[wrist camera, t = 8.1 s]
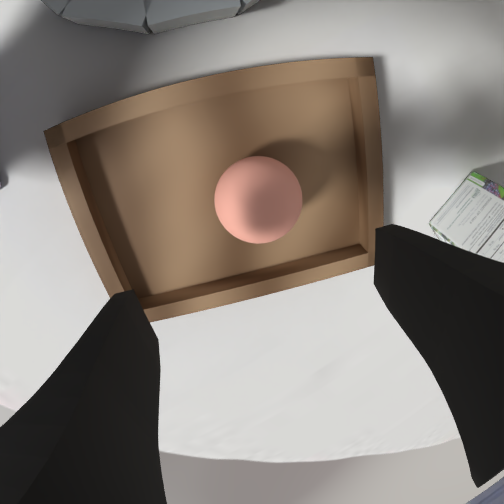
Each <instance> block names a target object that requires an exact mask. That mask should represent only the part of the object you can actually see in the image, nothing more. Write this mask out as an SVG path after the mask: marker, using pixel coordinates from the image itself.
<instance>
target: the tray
mask: <svg viewBox="0 0 504 504" xmlns="http://www.w3.org/2000/svg"><path fill="white" fill-rule="evenodd" d="M44 135H45V138H46V141H47V145H48V148H49V151H50V154H51V157H52V160H53V163H54V166H55V169H56V172H57V175H58V178H59V181H60V184H61V186H62V189H63V192H64V195H65V197H66V200H67V203H68V205H69V208H70V210H71V213H72V215H73V218H74V220H75V223H76V225H77V227H78V230H79V232H80V235H81V237H82V239H83V242H84V244H85V246H86V248H87V251H88V253H89V255H90V257H91V259H92V262H93V264H94V266H95V268H96V270H97V272H98V274H99V276H100V278H101V280H102V283H103V285H104V287H105V289H106V291H107V293H108V295H109V296H110V298H111V297H112V296H113V295H114V294H116V293H120V292H124V291H128V290H132V289H134V291H135V294H136V296H137V298H138V300H139V302H140V304H141V306H142V308H143V310H144V312H145V314H146V316H147V318H148V320H149V322H154V321H158V320H163V319H168V318H172V317H176V316H181V315H185V314H190V313H194V312H198V311H203V310H207V309H211V308H215V307H219V306H224V305H228V304H232V303H236V302H240V301H244V300H248V299H252V298H256V297H260V296H264V295H268V294H272V293H275V292H279V291H283V290H287V289H291V288H294V287H298V286H302V285H306V284H309V283H313V282H317V281H320V280H324V279H328V278H331V277H335V276H338V275H342V274H345V273H349V272H352V271H356V270H359V269H363V268H366V267H370V266H373V265H375V228H379V227H383V161H382V142H381V127H380V115H379V104H378V94H377V85H376V77H375V70H374V62H373V57H356V58H334V59H319V60H307V61H297V62H288V63H280V64H273V65H266V66H259V67H253V68H247V69H241V70H235V71H230V72H225V73H220V74H215V75H210V76H206V77H201V78H197V79H193V80H189V81H185V82H181V83H177V84H173V85H169V86H165V87H162V88H158V89H155V90H151V91H148V92H145V93H142V94H138V95H135V96H132V97H129V98H126V99H123V100H120V101H117V102H114V103H111V104H108V105H106V106H103V107H100V108H98V109H95V110H92V111H90V112H87V113H85V114H82V115H80V116H77V117H75V118H72V119H70V120H67V121H65V122H63V123H60V124H58V125H56V126H54V127H51V128H49V129H47V130H45V131H44ZM252 156H265V157H269V158H273V159H275V160H278V161H280V162H281V163H283V164H284V165H286V166H287V167H288V168H289V169H290V170H291V171H292V172H293V173H294V175H295V176H296V178H297V180H298V182H299V184H300V187H301V190H302V209H301V213H300V216H299V218H298V220H297V222H296V223H295V225H294V226H293V228H292V229H291V230H290V231H289V232H288V233H287V234H285V235H284V236H283V237H281V238H279V239H277V240H275V241H272V242H268V243H259V244H256V243H249V242H246V241H242V240H240V239H238V238H236V237H234V236H233V235H232V234H230V233H229V232H228V231H227V230H226V229H225V228H224V226H223V225H222V224H221V222H220V220H219V218H218V216H217V213H216V210H215V202H214V198H215V190H216V186H217V184H218V181H219V179H220V178H221V176H222V174H223V173H224V172H225V171H226V170H227V169H228V168H229V167H230V166H231V165H232V164H234V163H235V162H237V161H239V160H241V159H244V158H247V157H252Z"/></svg>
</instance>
